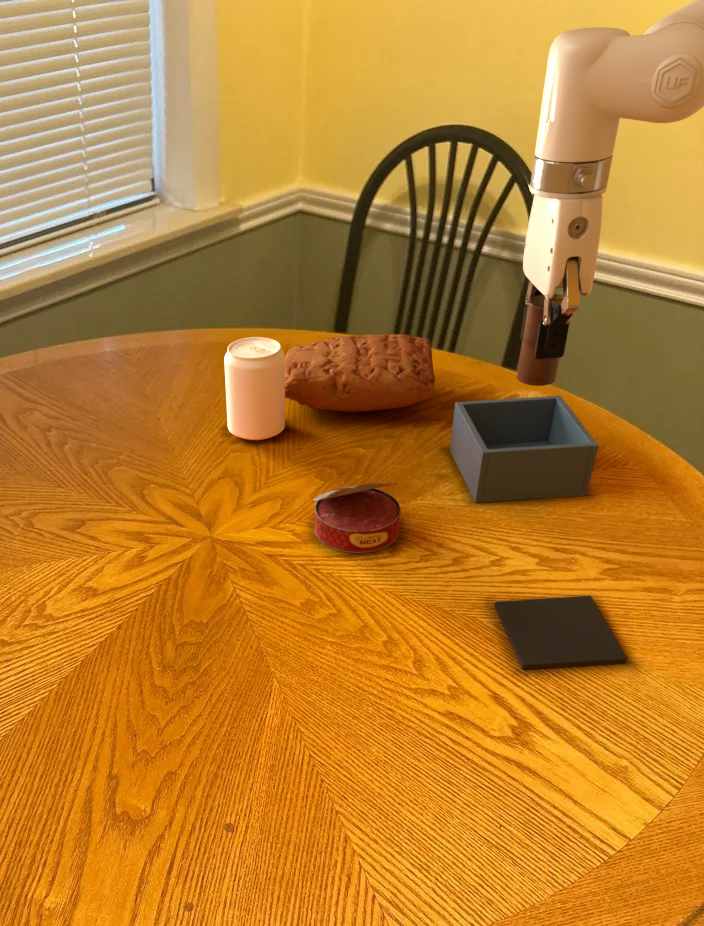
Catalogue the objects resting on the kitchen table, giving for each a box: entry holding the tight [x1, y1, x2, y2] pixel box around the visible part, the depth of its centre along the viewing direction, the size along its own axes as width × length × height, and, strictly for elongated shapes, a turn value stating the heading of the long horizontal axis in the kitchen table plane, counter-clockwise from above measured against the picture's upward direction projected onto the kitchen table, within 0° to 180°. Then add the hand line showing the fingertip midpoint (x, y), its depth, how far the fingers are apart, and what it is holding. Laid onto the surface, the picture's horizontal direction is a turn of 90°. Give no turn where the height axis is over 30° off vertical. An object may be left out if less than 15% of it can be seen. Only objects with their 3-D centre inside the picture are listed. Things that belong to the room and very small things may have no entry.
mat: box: [493, 595, 628, 670], centre depth 89 cm, size 10×10×1 cm
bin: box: [449, 395, 599, 504], centre depth 111 cm, size 14×14×7 cm
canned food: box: [312, 482, 402, 554], centre depth 103 cm, size 11×10×10 cm
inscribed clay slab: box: [285, 333, 436, 412], centre depth 129 cm, size 22×17×8 cm
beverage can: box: [223, 336, 286, 441], centre depth 122 cm, size 8×8×12 cm
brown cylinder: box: [516, 295, 563, 387], centre depth 102 cm, size 4×4×9 cm
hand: (541, 346), depth 103 cm, fingers closed on brown cylinder, 4 cm apart
